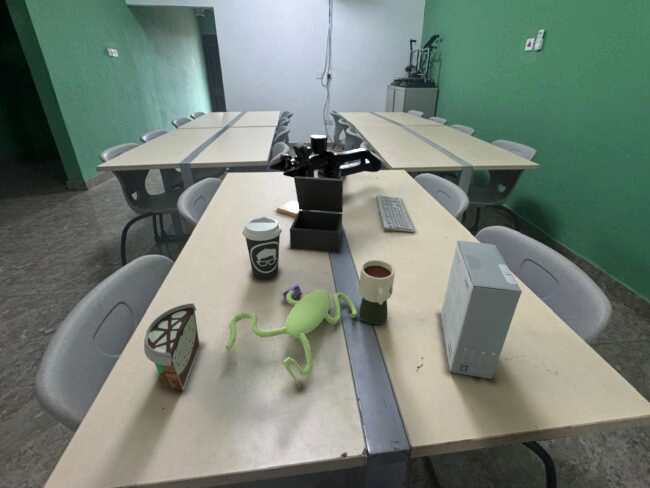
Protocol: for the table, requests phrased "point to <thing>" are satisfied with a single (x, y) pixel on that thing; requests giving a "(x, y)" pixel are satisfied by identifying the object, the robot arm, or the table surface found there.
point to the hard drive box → (477, 308)
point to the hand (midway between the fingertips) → (276, 170)
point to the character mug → (375, 290)
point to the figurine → (298, 320)
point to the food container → (173, 345)
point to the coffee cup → (263, 246)
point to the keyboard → (393, 214)
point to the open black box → (316, 231)
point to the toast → (289, 208)
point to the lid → (319, 194)
